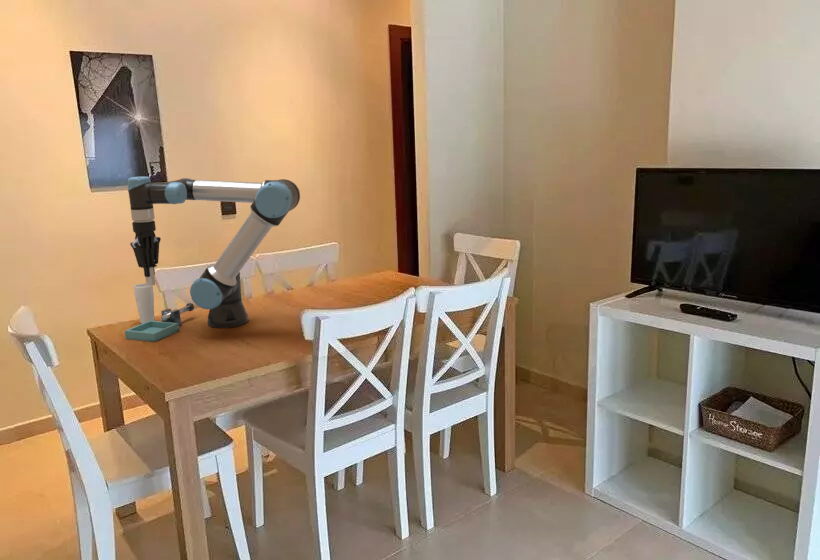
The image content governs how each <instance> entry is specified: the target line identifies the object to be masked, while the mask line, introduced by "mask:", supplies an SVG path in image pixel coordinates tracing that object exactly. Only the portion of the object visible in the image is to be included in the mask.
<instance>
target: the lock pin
mask: <svg viewBox="0 0 820 560" xmlns="http://www.w3.org/2000/svg"><path fill="white" fill-rule="evenodd" d="M194 309H195V305H194V304H193V303H192V302H188V303H187V304H186V305H185V306H182V307H181V308H178V310H180V315H182V314H183V313H186V312H193V311H194ZM170 318H171V316H170V313H168V314H165V315H163V316H162V315H161V316H160V320H161V321H162V320H163V321H165V320H167V319H170Z"/></svg>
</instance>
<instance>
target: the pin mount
mask: <svg viewBox="0 0 820 560" xmlns="http://www.w3.org/2000/svg"><path fill="white" fill-rule="evenodd" d="M171 309H172V308H169V307H168V308H165V309H162V310H160V311H161V312H160V313H161V316H163V315H165V314H168V313H170V316H171V318H170V319H167V320H165V321H163V320H162V319H161V322H170V323H178V325H179V328H180V327H181V326H182V318H181V314H180V310H178V309H179V308H178V309H176V308H175V309H174V310H171Z"/></svg>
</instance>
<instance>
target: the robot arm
mask: <svg viewBox="0 0 820 560" xmlns="http://www.w3.org/2000/svg"><path fill="white" fill-rule="evenodd" d="M127 192H128V197H129V205H130V214H131V220H132V221H133V222H132V223H131V224H132V232H133V233H134V234H135V236H134V241H133V242H130V244H129V245H130V246H131V248H132V250H133V253H134V256H135V260H136V262H137V266H138V267H139V268H142V269H143V273H144V274H143V275H144V277H145V283H146V285H151V286H153V287H154V286H155V285H156V280H155V279H156V278H155V275H156V272H155V267H157V265H158V264H159V256H160V255H159V253H160V243H161V240H162V239H161V237H160V236H156V233H155V231H156V230H157V228H156V221H155V209H154V205H161V204H163V205H167V204H168V205H179V204H181V205H182V204H184V203H185V202H186V201H208V202H211V201H212V202H231V203H249V204H250V207H249V208H250V214H249V215H248V217H247V218H246V219H245V221H244V222H243V223H242V225H241V226H240V228H239V229H238V230H237V232H236V234H235V235H234V236H233V238H232V239H231V240H230V242H229V243H228V245H227V246H226V248H225V249H224V251H223V252H222V253H221V255H220V256H219V258H218V259H217V260H216V262H215V263H210V264H209V265H207V267H206V268H205V270H204V271H203V272H202V274H201V275H200V277H199V278H196V280H194V281H193V283H192V284H191V285H190V289H189V294H190V297H191V300H192V302H193V303H194V304H195V305H196V306H197V307H198V308H201V309H203V310H209V312H208V316H207V325H208V326H209V327H211V328H216V329H227V328H228V329H229V328H234V327H235V328H236V327H240V326H242V325H245V324H247V323H248V322H249V315H248V313H247V309H246V307H245V306H244V303H243V298H242V286H241V285H242V284H241V283H242V282H241V271H242V269H243V268H244V267H245V265H246V263H247V262H248V261H249V259H250V258H251V257H252V255H253V254H254V253H255V251H256V250H257V248H258V247H259V246H260V244H261V243H262V242H263V240H264V239H265V237H266V236H267V235H268V233H269V232H270V231H271V229H272V228H273V227H279V225H280V224H281V223H282V222H283V220H284V218H286V216H287V215H288V213H289V212H291V211H292V210H294V209H295V208H296V207H298V205H299V203H300V200H301V191H300V189H299V187H298V186H297V185H296V183H294V182H293V181H292V180H289V179H285V178H282V179H273V180H272V179H265V180H264V181H263V182H258V181H257V182H255V181H234V180H231V181H230V180H209V179H191V178H187V177H186V178H184V177H183V178H179V179H176V180H171V181H164V182H162V181H159V182H152V181H151V178H150V176H131V177H129V178H128V179H127Z"/></svg>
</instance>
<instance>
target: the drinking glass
mask: <svg viewBox="0 0 820 560" xmlns="http://www.w3.org/2000/svg"><path fill="white" fill-rule="evenodd" d="M133 291H134V297H135V303H136V307H137V313H138V316H139V322H140V324H143V323H145V322H147V321H150V320H151V321H156V320H155V319H156V318H155V297H154V296H155V293H154V285H153V286H151V285H146V282H145V283H139V284H135V285H134V286H133Z"/></svg>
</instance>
